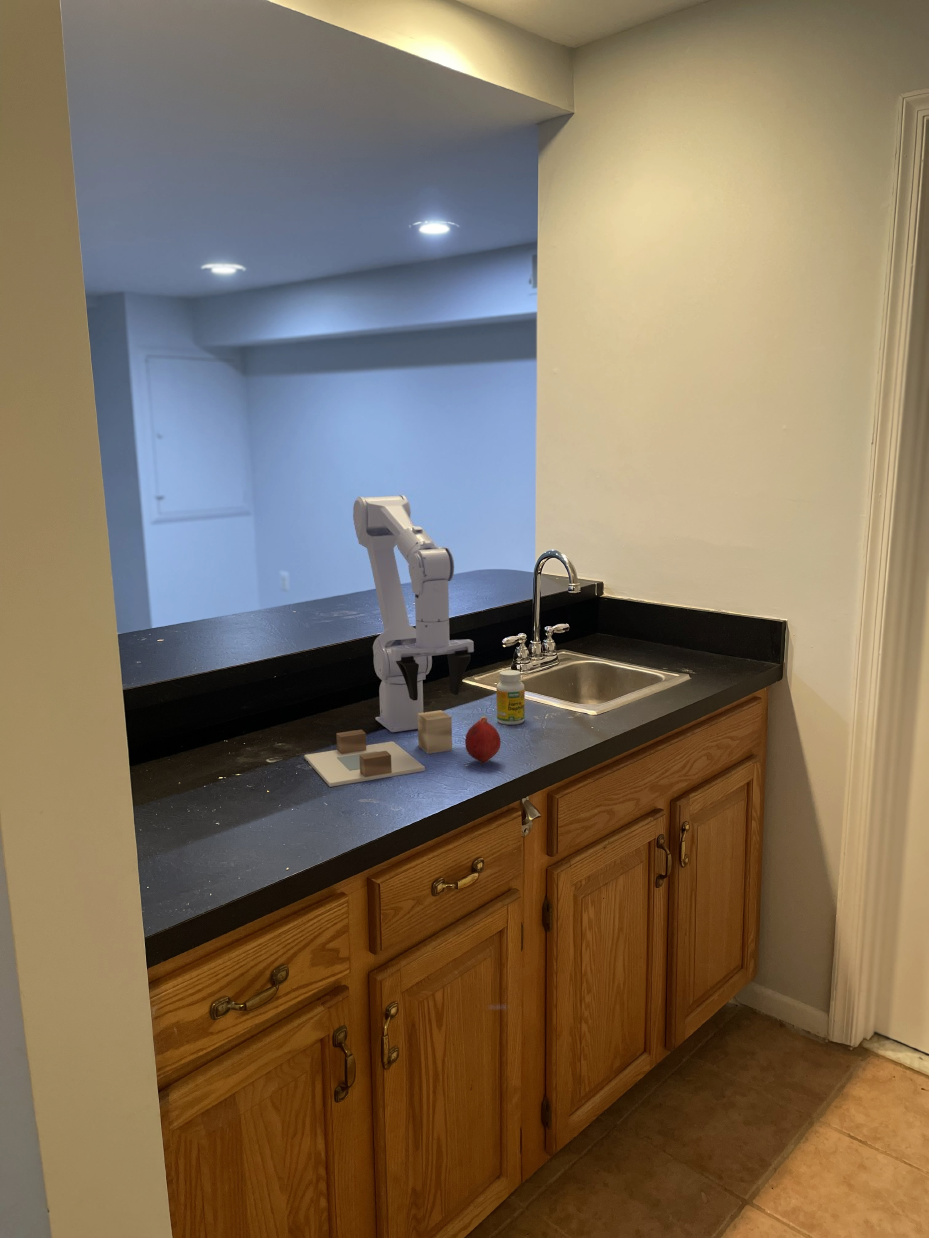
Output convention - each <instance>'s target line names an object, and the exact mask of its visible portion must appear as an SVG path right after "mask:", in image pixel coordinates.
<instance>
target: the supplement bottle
mask: <svg viewBox="0 0 929 1238" xmlns="http://www.w3.org/2000/svg"><path fill="white" fill-rule="evenodd" d="M521 678H522V672H521V671H519V670H513V669H510V670H509V669H508V670H507V669H506V670H501V671H499V680H500V681H499V682H498V683H497V685H496V721H497V723H500V724H501V725H502V724H503V725H508V726H512V725H520V724H523V723H524V721H525V718H526V715H525V714H526V712H525V710H526V709H525V708H526V707H525V705H526V701H525V693H526V692H525V684H524V683H523V682H522V681H521Z"/></svg>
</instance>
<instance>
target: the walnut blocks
mask: <svg viewBox="0 0 929 1238" xmlns="http://www.w3.org/2000/svg"><path fill="white" fill-rule="evenodd" d="M335 735H336V750H338V751H339V752H340V753H341V754H345V753H351V752H357V751H364V750H366V745H367V733H366V732H365V731H364V730H363V729H358V730H349V731H343V732H336V734H335ZM359 757H360V773H361V774H362V775H363V776H364V777H370V776H376V775H382V774H388V773H392V769H391V754H389V753H388V752H387V751H380V752H374V753H367V754H361V755H359Z"/></svg>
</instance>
